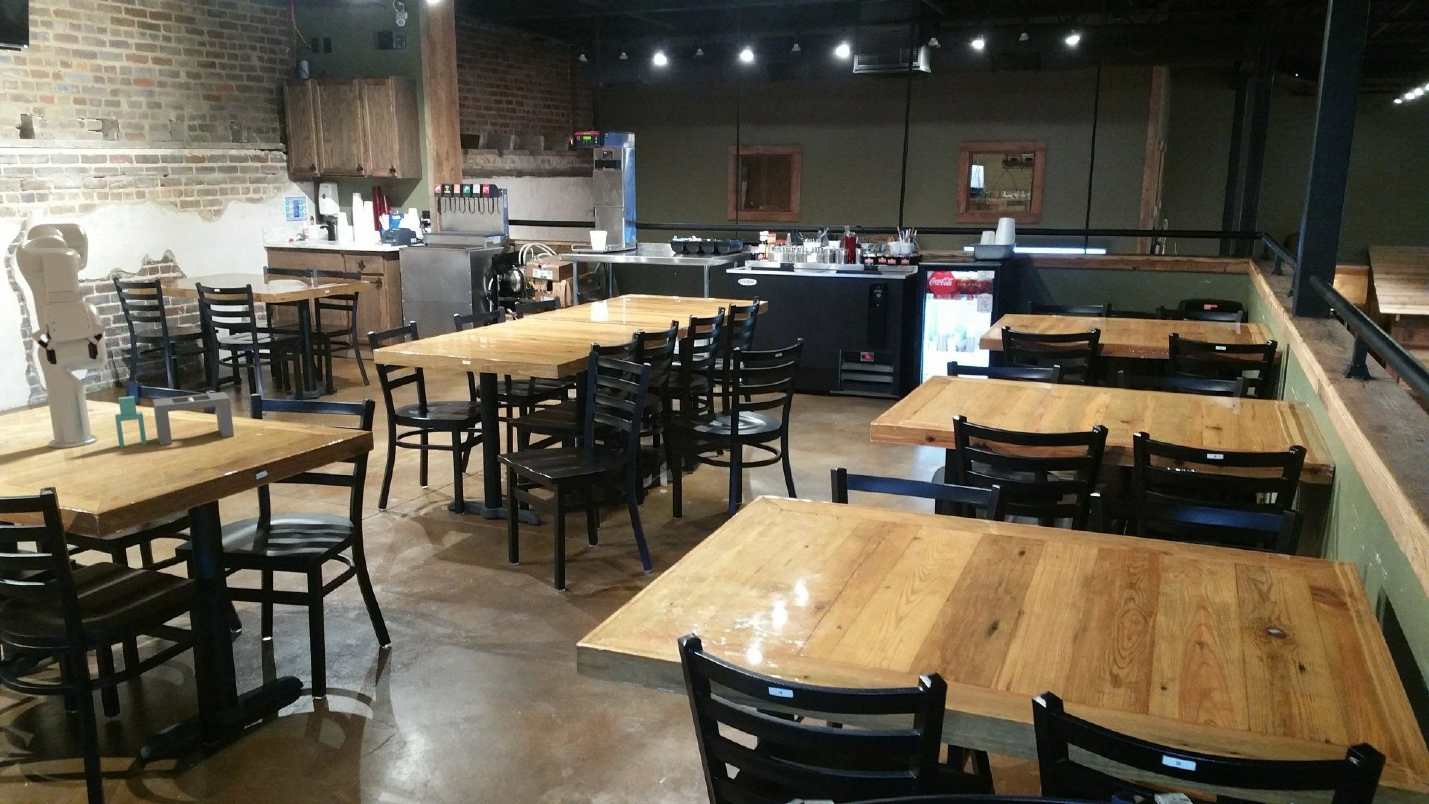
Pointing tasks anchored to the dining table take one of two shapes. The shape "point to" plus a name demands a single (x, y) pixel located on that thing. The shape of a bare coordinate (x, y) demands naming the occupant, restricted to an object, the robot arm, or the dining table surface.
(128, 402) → the teal arch frame
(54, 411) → the robot arm
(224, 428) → the grey table arch
